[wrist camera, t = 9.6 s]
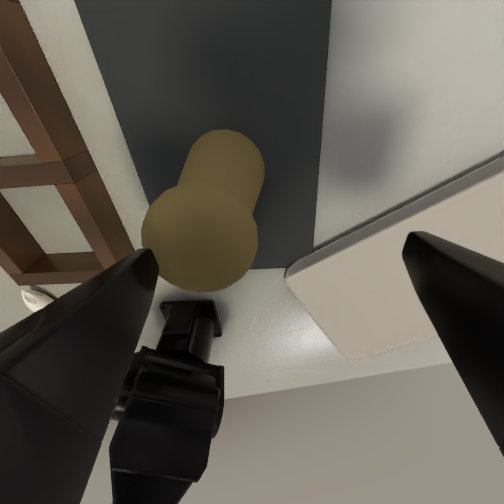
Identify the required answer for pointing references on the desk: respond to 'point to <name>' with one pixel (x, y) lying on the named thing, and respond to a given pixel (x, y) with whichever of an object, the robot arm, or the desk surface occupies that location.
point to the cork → (208, 215)
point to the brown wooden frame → (49, 167)
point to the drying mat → (222, 96)
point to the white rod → (35, 299)
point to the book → (395, 265)
